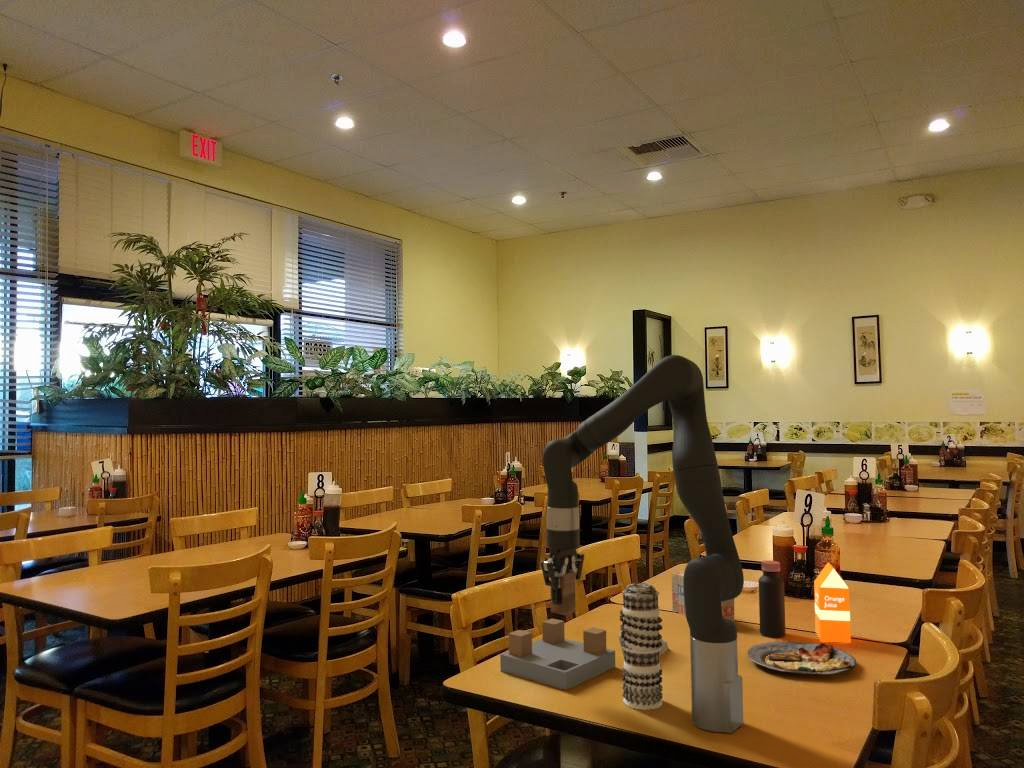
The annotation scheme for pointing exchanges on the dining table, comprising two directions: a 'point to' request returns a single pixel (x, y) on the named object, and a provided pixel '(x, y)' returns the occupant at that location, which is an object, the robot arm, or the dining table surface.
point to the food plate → (802, 657)
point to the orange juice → (832, 607)
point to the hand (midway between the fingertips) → (563, 601)
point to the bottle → (771, 600)
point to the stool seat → (557, 656)
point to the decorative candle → (641, 647)
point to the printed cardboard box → (680, 601)
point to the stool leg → (566, 595)
